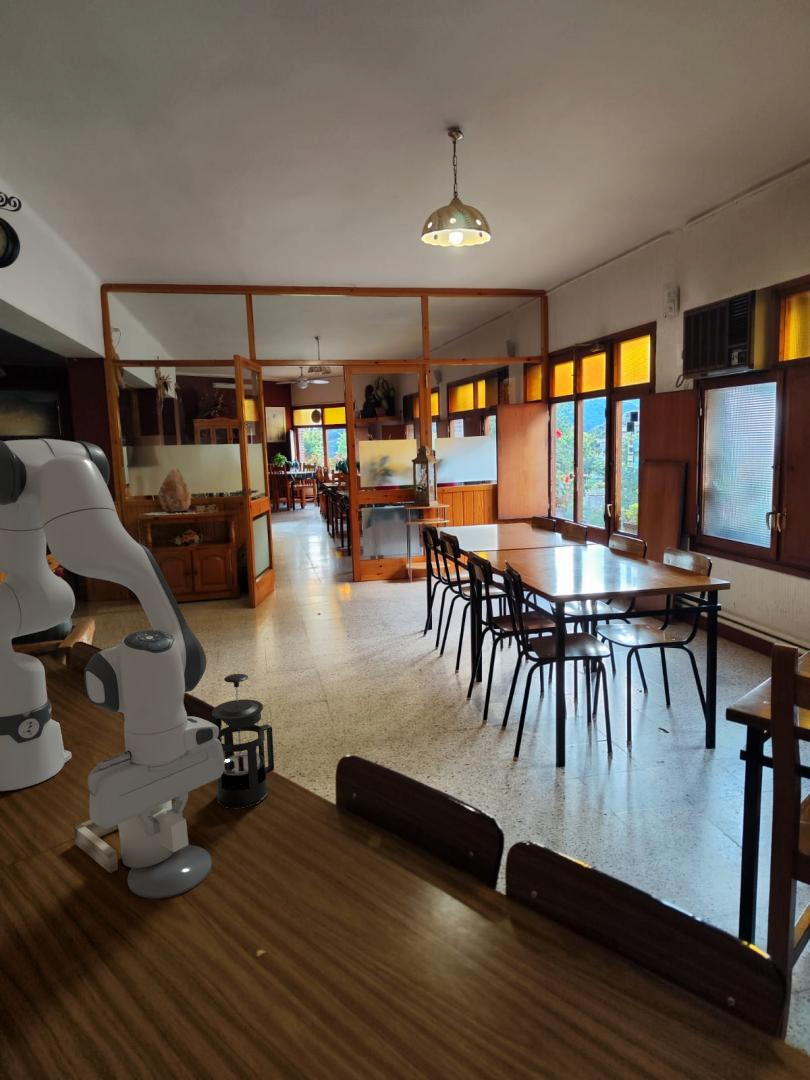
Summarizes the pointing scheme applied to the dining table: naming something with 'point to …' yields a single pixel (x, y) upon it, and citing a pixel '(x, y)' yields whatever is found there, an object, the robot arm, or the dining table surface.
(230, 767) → the french press
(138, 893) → the mat
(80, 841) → the stand
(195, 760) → the robot arm
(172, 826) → the white handled cylinder
